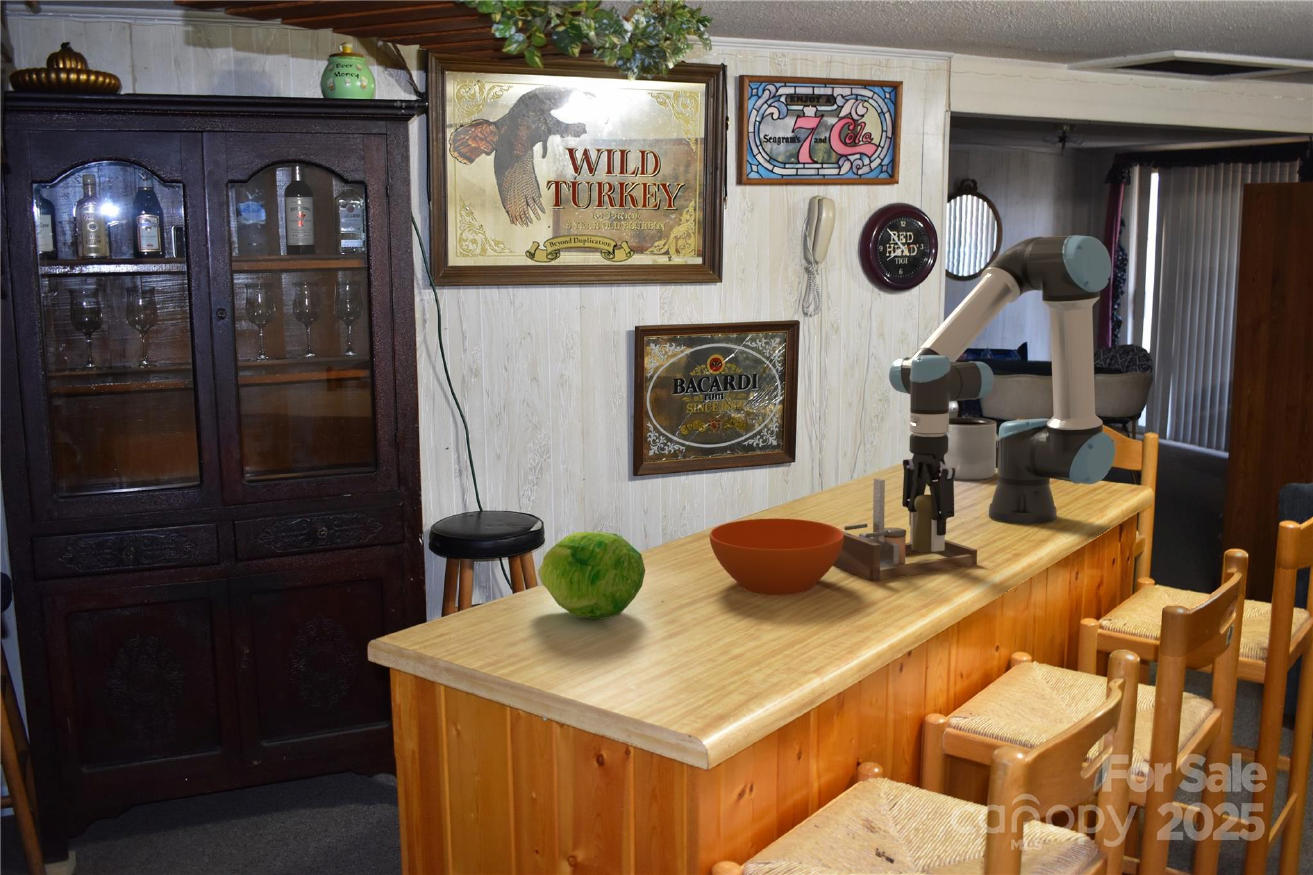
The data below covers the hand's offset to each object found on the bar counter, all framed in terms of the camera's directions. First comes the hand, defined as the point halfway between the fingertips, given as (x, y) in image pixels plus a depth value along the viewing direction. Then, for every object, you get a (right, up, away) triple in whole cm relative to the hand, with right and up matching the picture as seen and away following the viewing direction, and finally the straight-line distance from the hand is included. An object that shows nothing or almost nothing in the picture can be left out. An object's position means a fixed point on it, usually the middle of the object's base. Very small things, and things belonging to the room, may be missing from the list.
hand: (927, 546), depth 231 cm
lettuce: (-66, -9, -31) cm, 74 cm away
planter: (+32, +11, +88) cm, 95 cm away
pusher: (-11, -3, -5) cm, 12 cm away
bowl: (-32, -6, -14) cm, 36 cm away
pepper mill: (0, -1, 0) cm, 1 cm away
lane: (-5, -3, -2) cm, 7 cm away
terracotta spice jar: (-8, -4, -3) cm, 9 cm away
